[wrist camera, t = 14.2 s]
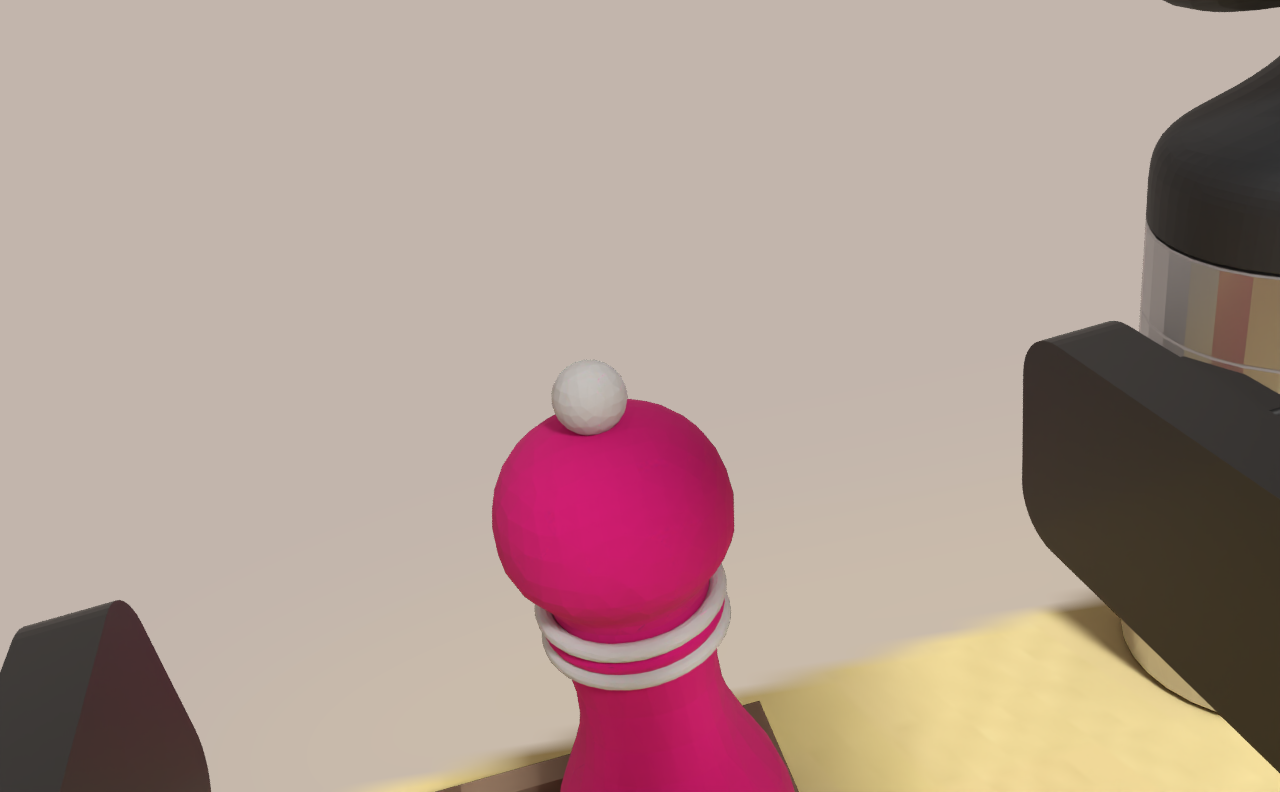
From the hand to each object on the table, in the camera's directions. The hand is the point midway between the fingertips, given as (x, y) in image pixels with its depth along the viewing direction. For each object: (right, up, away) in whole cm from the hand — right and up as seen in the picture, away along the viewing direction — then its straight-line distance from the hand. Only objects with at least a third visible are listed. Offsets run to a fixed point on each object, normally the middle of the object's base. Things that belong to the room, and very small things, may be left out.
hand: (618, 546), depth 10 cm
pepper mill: (+2, -15, +25) cm, 30 cm away
